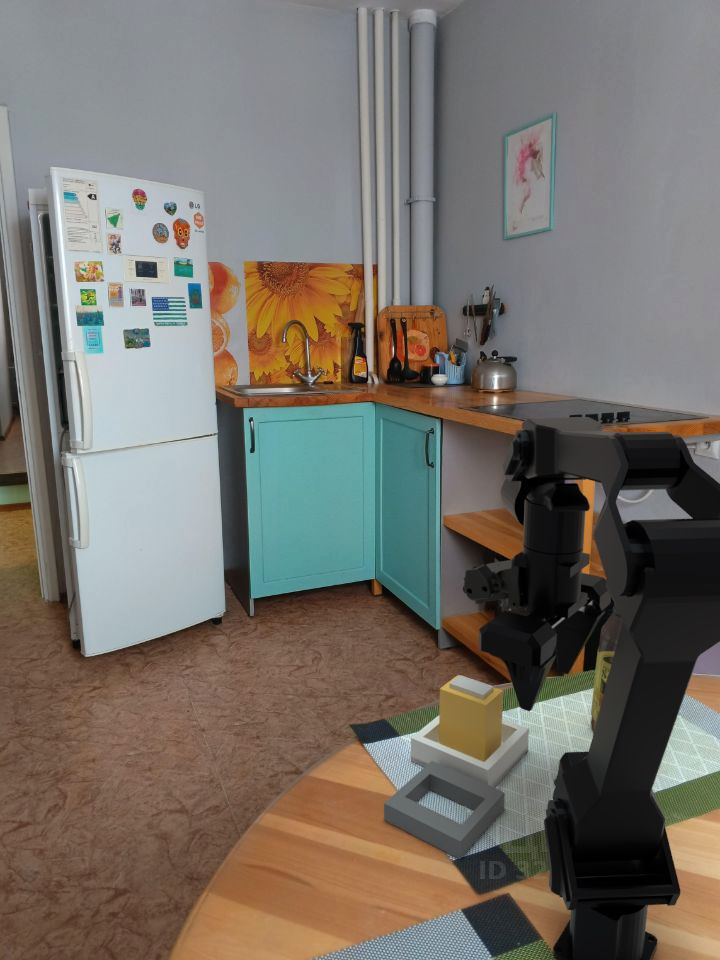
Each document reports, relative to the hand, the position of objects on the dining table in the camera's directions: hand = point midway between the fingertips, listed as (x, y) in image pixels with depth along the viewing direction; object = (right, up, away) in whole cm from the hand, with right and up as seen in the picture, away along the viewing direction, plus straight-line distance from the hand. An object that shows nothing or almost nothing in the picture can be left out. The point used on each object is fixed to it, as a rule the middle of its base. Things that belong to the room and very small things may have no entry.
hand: (545, 690), depth 73 cm
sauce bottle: (+13, -10, +15) cm, 22 cm away
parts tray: (-6, -11, +11) cm, 17 cm away
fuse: (-6, -10, +11) cm, 16 cm away
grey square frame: (-10, -13, +1) cm, 17 cm away
